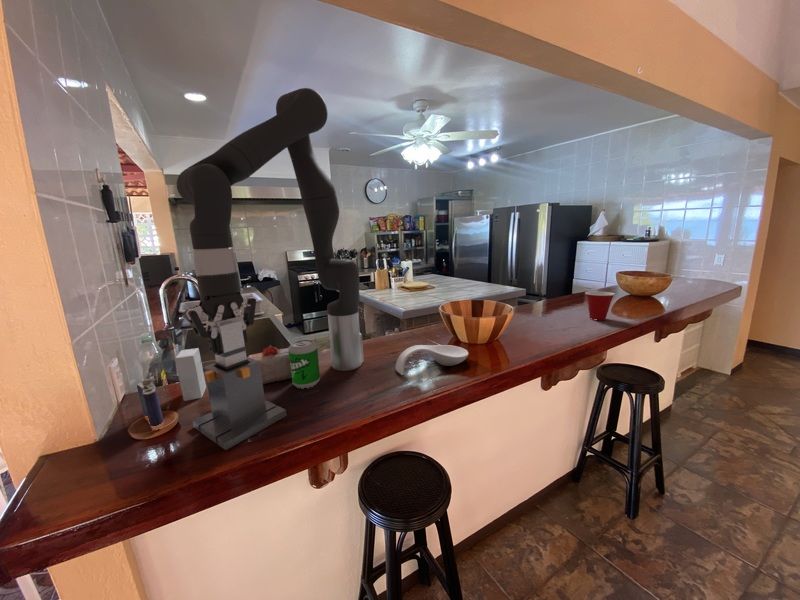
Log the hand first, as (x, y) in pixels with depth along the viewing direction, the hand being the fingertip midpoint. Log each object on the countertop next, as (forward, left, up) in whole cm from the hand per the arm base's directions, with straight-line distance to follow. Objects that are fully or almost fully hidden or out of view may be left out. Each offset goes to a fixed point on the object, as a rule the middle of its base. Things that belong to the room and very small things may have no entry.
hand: (229, 349), depth 69 cm
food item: (-17, -13, -18) cm, 28 cm away
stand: (0, 0, -17) cm, 17 cm away
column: (0, 0, -17) cm, 17 cm away
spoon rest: (-49, +22, -18) cm, 57 cm away
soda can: (-20, -2, -18) cm, 27 cm away
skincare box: (0, -23, -18) cm, 29 cm away
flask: (+11, -17, -18) cm, 27 cm away
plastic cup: (-128, +60, -18) cm, 142 cm away
